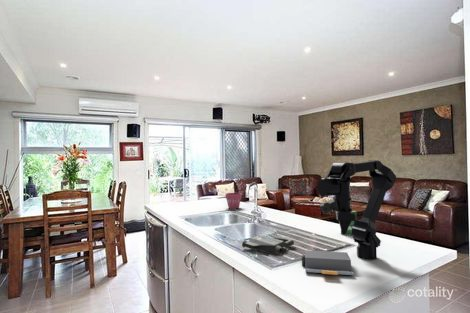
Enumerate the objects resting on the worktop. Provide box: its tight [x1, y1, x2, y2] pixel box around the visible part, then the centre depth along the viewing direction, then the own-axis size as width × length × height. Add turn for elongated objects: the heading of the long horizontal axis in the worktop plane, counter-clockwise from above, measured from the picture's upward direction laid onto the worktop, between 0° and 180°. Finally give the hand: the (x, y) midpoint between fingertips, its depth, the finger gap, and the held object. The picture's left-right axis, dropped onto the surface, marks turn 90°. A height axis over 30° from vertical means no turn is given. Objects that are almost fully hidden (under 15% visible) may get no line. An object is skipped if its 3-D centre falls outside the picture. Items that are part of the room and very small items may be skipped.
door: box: [305, 268, 355, 276], centre depth 94 cm, size 16×1×8 cm
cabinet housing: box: [301, 250, 352, 272], centre depth 102 cm, size 17×8×5 cm, turn 76°
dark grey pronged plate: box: [241, 234, 295, 255], centre depth 126 cm, size 16×20×5 cm
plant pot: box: [225, 192, 243, 210], centre depth 233 cm, size 14×14×13 cm
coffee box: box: [340, 210, 357, 236], centre depth 145 cm, size 8×3×13 cm, turn 61°
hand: (343, 234), depth 104 cm, fingers closed
